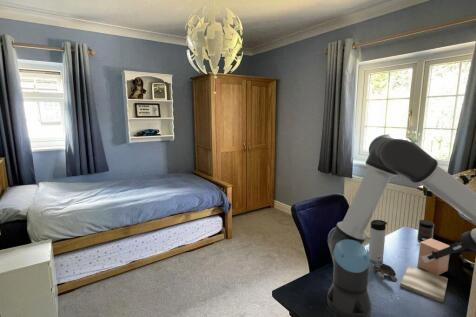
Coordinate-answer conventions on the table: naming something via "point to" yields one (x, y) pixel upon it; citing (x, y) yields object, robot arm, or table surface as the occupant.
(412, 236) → the table surface
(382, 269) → the eagle figurine
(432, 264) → the peach squarish block
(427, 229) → the supplement container
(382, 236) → the travel mug
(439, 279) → the birch pad
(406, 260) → the table surface
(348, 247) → the robot arm
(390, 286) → the table surface
